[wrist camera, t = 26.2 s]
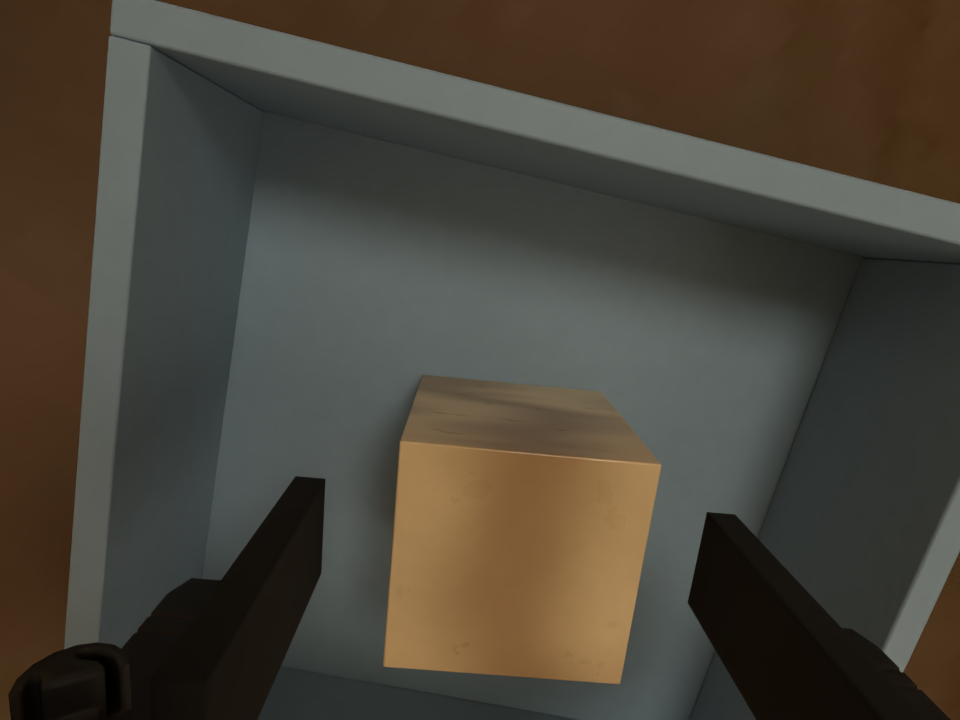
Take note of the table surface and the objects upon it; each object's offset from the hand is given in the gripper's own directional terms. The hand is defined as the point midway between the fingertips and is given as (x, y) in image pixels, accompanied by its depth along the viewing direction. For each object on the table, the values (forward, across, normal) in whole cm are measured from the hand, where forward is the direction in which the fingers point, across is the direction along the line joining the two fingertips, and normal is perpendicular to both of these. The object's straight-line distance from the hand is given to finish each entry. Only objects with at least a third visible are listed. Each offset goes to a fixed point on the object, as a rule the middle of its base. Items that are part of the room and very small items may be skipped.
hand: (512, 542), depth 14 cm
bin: (+5, 0, 0) cm, 5 cm away
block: (+5, 0, 0) cm, 5 cm away
